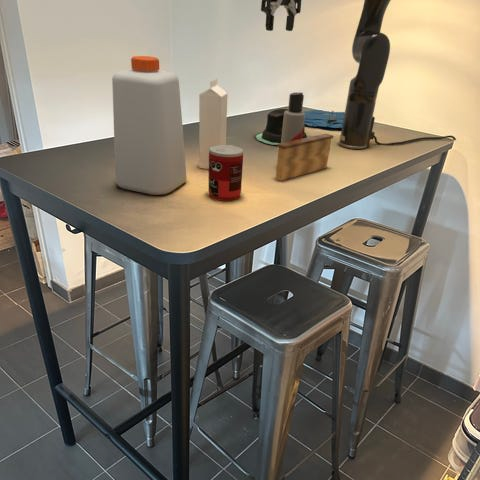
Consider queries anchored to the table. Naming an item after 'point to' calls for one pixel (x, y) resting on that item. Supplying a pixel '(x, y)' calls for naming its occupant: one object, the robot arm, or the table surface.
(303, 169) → the wall panel
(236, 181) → the canned food
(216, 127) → the milk
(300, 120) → the lotion bottle
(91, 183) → the table surface
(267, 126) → the chocolate cake
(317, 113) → the decorative plate
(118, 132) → the plastic bottle
